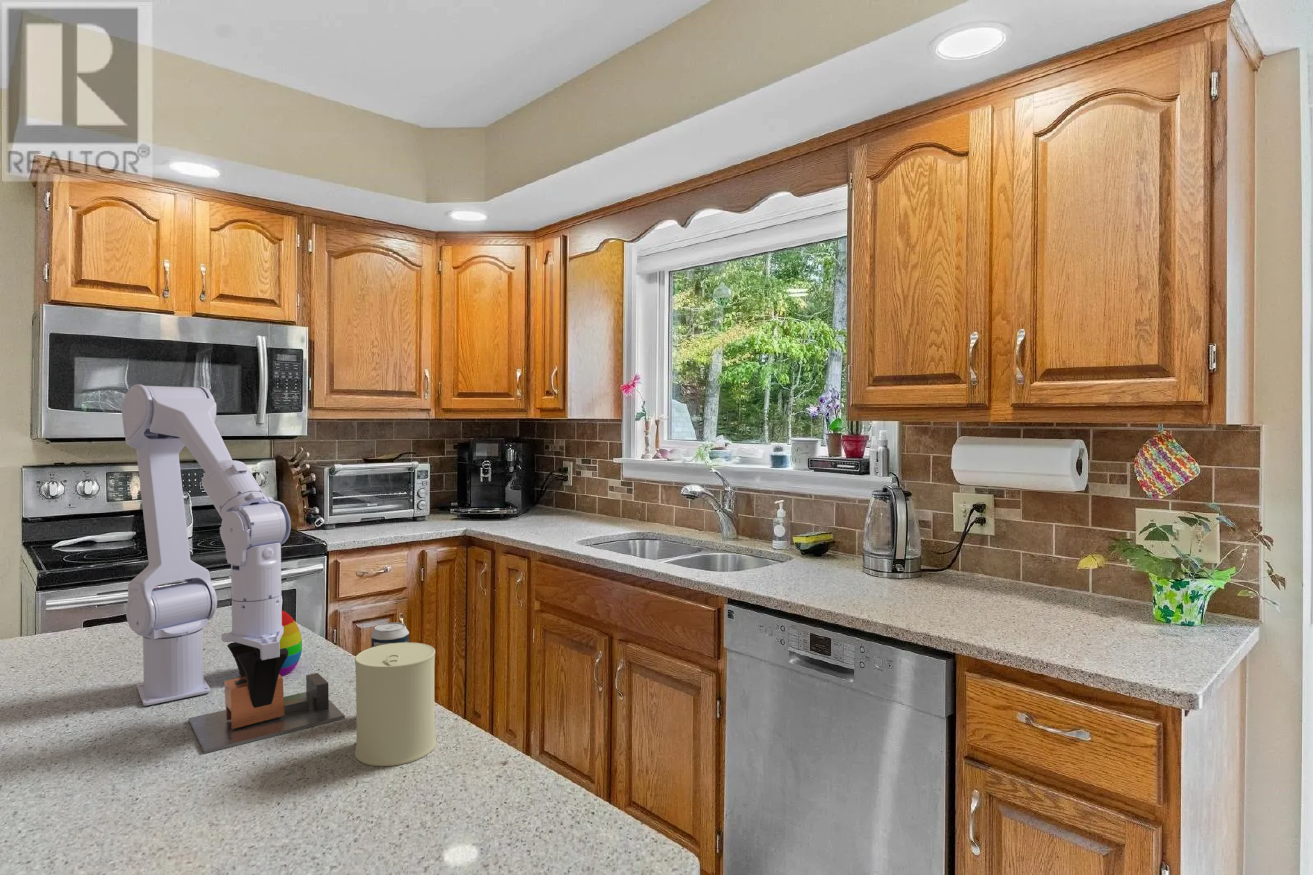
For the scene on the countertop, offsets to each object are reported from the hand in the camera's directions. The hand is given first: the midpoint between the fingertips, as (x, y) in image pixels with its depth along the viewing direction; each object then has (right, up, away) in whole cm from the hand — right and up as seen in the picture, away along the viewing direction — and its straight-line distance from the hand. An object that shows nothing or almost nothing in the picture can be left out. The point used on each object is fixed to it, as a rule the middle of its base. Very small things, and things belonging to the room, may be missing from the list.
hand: (258, 700), depth 97 cm
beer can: (+17, -3, +2) cm, 17 cm away
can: (+21, -3, -7) cm, 22 cm away
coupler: (+1, -3, +1) cm, 3 cm away
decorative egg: (-8, -3, +19) cm, 20 cm away
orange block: (0, -2, 0) cm, 2 cm away
